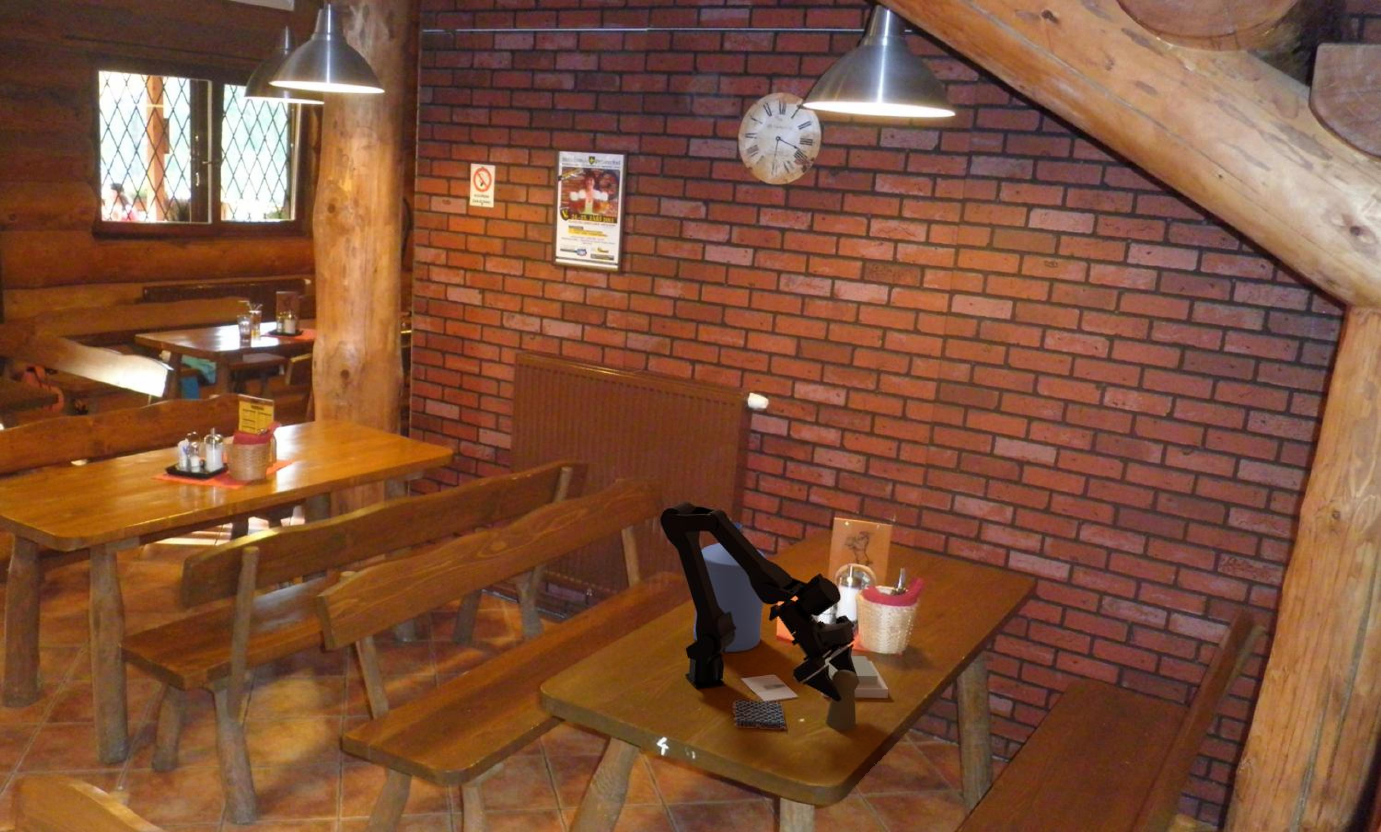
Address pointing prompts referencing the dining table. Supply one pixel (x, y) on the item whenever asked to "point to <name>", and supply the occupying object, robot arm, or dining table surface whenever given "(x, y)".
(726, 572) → the water jug
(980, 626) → the dining table surface
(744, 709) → the woven mat
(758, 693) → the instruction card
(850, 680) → the brown tapered knobbed post
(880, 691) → the tower base
